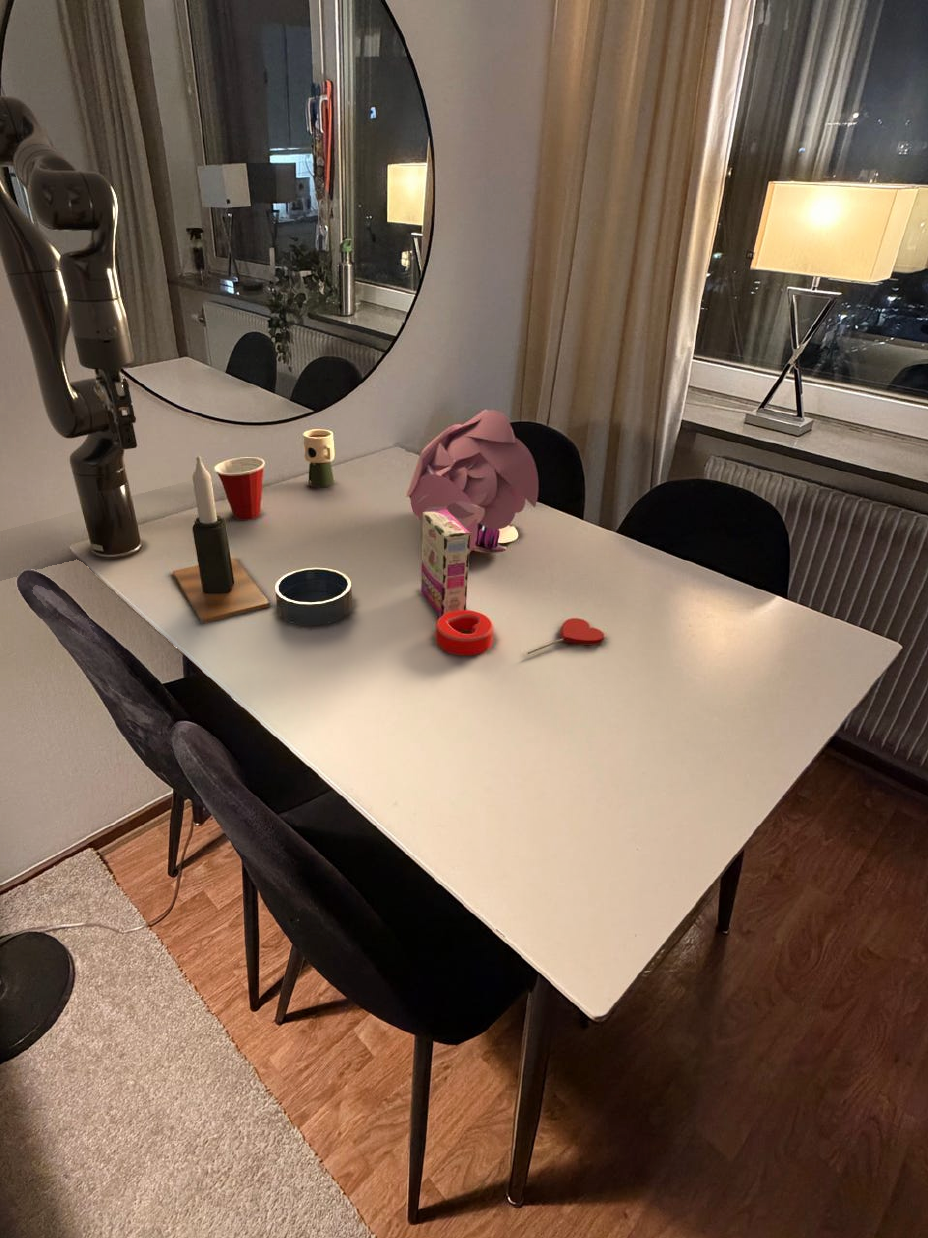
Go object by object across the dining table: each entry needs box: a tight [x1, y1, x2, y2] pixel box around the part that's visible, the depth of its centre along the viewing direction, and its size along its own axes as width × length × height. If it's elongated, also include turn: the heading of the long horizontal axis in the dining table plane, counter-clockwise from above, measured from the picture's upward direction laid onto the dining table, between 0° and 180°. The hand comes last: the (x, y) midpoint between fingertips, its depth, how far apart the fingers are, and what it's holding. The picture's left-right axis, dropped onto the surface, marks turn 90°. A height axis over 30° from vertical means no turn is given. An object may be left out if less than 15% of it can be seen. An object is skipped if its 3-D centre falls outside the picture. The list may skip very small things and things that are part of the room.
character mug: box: [302, 428, 335, 488], centre depth 179 cm, size 11×7×13 cm, turn 38°
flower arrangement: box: [405, 409, 539, 554], centre depth 155 cm, size 35×24×28 cm
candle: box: [191, 455, 234, 594], centre depth 129 cm, size 5×5×25 cm
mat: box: [172, 557, 271, 624], centre depth 136 cm, size 20×12×1 cm, turn 32°
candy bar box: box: [420, 510, 470, 618], centre depth 131 cm, size 11×5×16 cm, turn 23°
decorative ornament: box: [435, 609, 494, 656], centre depth 125 cm, size 10×10×3 cm
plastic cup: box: [213, 456, 266, 521], centre depth 162 cm, size 11×11×12 cm
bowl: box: [274, 567, 353, 627], centre depth 131 cm, size 13×13×4 cm
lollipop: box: [526, 617, 605, 655], centre depth 125 cm, size 8×1×15 cm
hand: (123, 439), depth 115 cm, fingers open, 8 cm apart
